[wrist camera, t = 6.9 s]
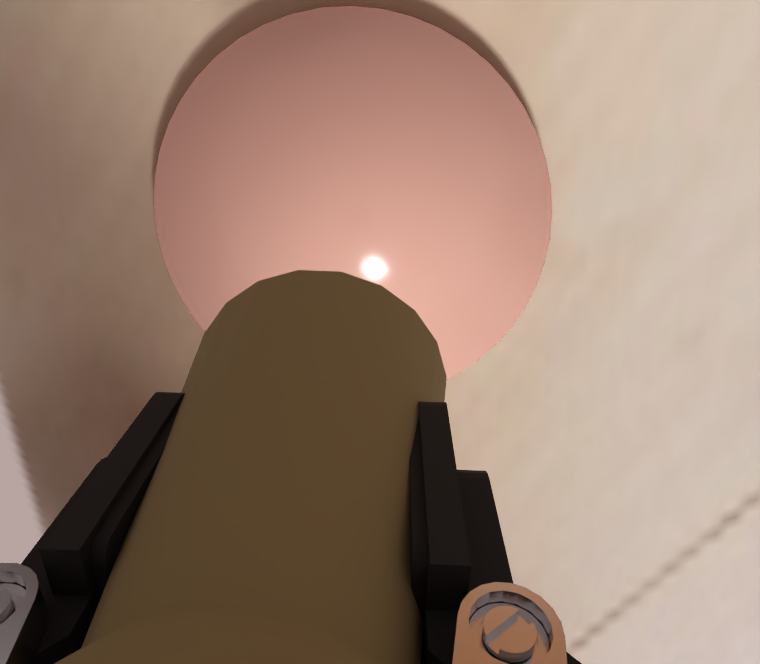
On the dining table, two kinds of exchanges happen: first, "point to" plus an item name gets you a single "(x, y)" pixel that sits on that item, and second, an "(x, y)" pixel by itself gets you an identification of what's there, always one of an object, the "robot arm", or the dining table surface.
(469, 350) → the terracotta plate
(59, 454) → the dining table surface
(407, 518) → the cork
